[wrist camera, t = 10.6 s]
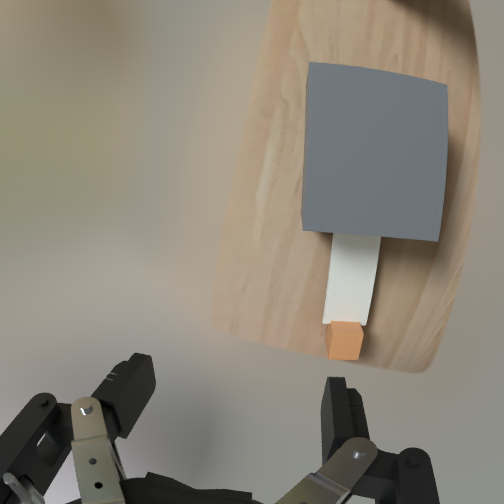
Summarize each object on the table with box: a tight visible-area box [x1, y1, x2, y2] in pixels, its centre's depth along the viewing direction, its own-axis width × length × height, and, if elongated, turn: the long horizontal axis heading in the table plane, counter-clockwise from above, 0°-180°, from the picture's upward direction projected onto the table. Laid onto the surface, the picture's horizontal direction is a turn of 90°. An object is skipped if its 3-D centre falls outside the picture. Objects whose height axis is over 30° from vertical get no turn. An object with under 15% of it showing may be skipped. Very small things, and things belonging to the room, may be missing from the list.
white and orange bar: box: [322, 233, 381, 360], centre depth 37 cm, size 20×6×5 cm, turn 178°
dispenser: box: [301, 62, 448, 242], centre depth 31 cm, size 17×14×10 cm
